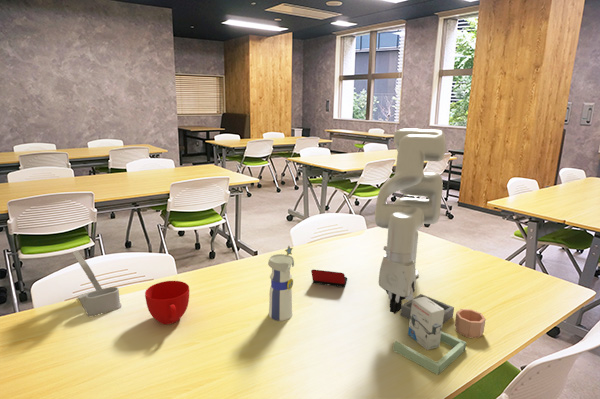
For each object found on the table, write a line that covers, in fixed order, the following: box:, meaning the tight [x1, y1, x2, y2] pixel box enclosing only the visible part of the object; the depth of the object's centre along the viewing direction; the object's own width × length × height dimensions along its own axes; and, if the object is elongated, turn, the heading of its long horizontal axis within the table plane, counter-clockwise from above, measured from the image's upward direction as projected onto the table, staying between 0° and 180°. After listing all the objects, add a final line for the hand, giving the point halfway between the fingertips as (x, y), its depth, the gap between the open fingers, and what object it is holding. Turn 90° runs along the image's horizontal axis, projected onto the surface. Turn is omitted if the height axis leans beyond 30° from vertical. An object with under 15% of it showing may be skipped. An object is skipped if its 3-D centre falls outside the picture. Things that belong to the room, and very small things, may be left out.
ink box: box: [407, 296, 445, 351], centre depth 111 cm, size 9×5×12 cm, turn 24°
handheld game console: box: [310, 269, 348, 288], centre depth 147 cm, size 12×11×7 cm
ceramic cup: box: [144, 280, 190, 325], centre depth 119 cm, size 13×17×10 cm
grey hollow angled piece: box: [72, 249, 122, 317], centre depth 128 cm, size 17×10×18 cm, turn 40°
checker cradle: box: [400, 293, 455, 325], centre depth 125 cm, size 12×12×4 cm
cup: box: [454, 308, 486, 339], centre depth 117 cm, size 8×8×5 cm
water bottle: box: [267, 245, 295, 321], centre depth 122 cm, size 8×9×25 cm
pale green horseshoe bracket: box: [392, 331, 467, 376], centre depth 108 cm, size 13×15×2 cm
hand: (394, 311), depth 116 cm, fingers closed
